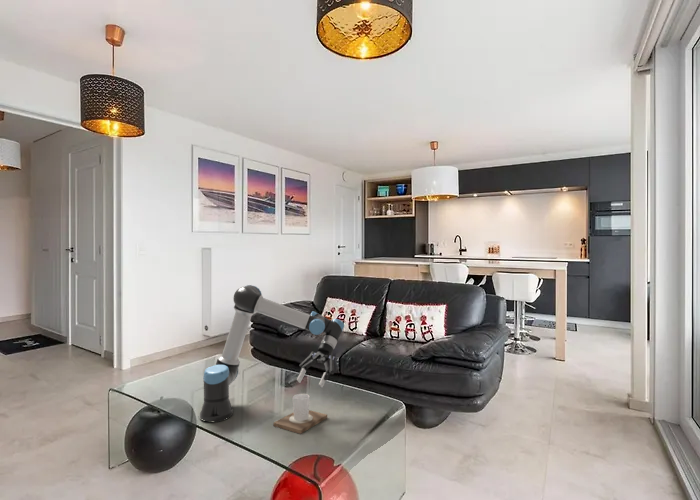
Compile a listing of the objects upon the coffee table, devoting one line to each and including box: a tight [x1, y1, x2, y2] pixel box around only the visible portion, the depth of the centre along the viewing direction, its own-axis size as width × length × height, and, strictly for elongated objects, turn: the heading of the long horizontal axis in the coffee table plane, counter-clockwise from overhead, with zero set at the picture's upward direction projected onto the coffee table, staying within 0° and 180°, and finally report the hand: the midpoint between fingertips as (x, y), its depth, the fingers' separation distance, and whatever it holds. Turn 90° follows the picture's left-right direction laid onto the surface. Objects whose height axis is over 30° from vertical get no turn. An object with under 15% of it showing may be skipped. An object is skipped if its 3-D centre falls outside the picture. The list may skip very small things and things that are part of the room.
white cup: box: [292, 393, 311, 421], centre depth 179 cm, size 8×8×10 cm
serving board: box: [272, 409, 328, 435], centre depth 178 cm, size 20×16×2 cm
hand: (309, 383), depth 184 cm, fingers open, 13 cm apart
